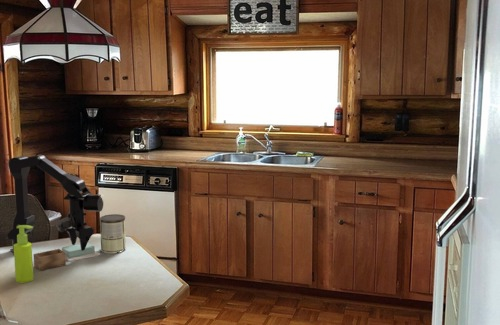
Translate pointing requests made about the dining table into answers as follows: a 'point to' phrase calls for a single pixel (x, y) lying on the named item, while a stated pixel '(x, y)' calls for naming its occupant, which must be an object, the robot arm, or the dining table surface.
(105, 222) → the coffee can
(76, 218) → the robot arm
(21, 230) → the soap dispenser
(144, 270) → the dining table surface
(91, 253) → the mat
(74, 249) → the lid
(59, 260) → the wooden box
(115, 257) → the dining table surface
